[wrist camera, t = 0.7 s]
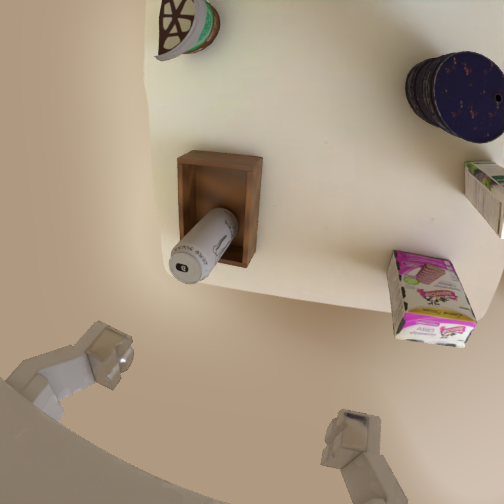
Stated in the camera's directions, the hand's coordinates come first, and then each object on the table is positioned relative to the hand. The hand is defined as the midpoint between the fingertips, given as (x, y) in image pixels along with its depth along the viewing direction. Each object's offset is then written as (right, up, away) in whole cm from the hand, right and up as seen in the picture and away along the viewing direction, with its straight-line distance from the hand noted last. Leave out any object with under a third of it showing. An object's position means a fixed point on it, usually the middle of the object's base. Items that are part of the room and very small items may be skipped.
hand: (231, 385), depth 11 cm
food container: (-6, +39, +28) cm, 48 cm away
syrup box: (+36, +16, +28) cm, 48 cm away
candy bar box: (+29, +2, +38) cm, 48 cm away
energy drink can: (-4, +10, +44) cm, 45 cm away
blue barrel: (+27, +27, +24) cm, 45 cm away
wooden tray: (-4, +13, +42) cm, 44 cm away
